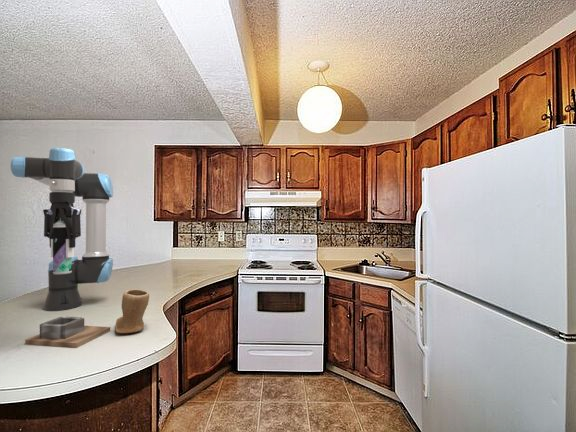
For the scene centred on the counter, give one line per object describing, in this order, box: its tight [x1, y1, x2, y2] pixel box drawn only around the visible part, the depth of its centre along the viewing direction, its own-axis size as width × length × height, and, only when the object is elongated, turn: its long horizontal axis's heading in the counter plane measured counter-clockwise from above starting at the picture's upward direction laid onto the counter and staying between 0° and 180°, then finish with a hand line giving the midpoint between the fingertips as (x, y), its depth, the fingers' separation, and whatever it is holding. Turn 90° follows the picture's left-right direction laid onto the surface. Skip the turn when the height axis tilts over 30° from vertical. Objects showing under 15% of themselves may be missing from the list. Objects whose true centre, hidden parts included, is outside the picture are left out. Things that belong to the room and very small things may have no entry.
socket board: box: [24, 316, 111, 349], centre depth 119 cm, size 20×16×6 cm
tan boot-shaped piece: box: [114, 288, 150, 334], centre depth 128 cm, size 15×12×15 cm
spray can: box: [52, 218, 72, 274], centre depth 118 cm, size 6×6×20 cm
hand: (62, 256), depth 118 cm, fingers closed on spray can, 5 cm apart
